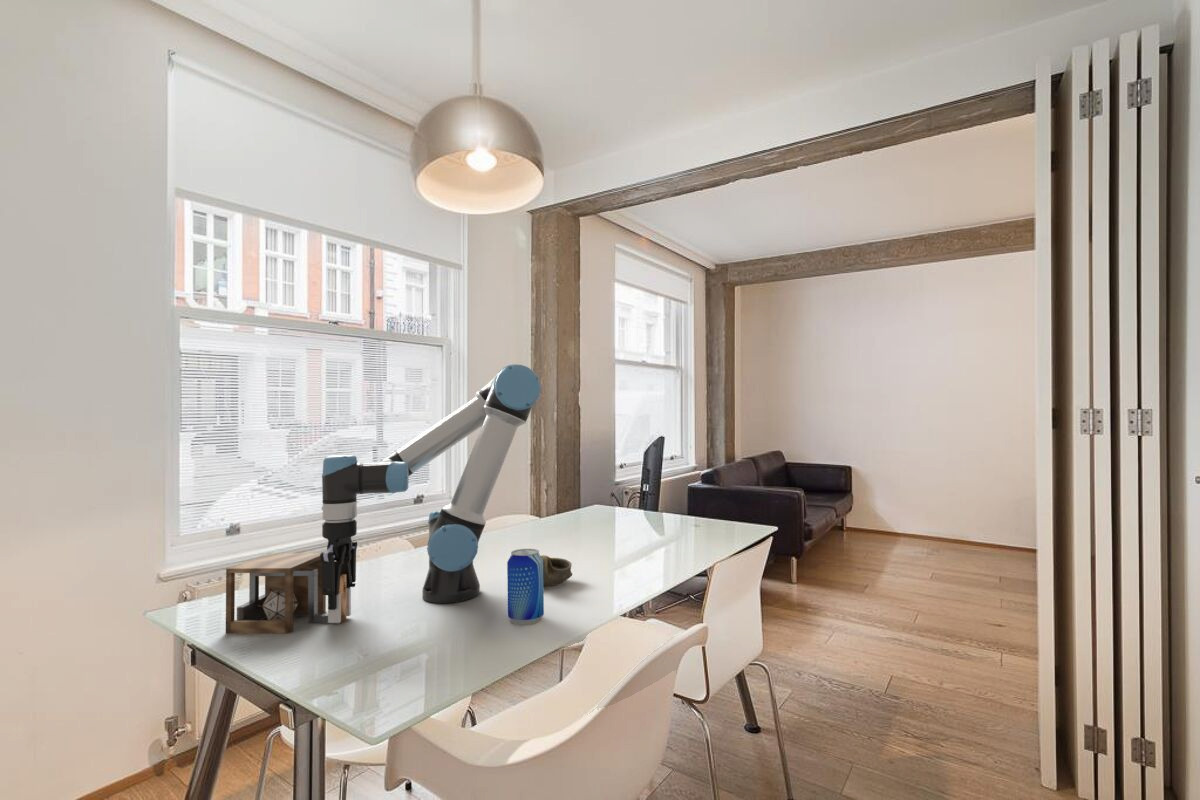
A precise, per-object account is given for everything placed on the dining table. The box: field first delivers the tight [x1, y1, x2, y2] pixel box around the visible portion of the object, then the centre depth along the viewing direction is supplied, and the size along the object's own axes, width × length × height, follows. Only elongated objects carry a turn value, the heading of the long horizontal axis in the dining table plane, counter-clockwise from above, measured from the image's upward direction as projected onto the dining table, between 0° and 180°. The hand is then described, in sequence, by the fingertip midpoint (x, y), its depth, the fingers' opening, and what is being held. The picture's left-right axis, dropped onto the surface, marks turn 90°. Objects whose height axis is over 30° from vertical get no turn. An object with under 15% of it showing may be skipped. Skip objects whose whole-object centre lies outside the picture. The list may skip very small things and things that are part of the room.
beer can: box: [506, 548, 545, 626], centre depth 137 cm, size 8×8×16 cm
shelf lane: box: [225, 552, 327, 634], centre depth 139 cm, size 15×15×14 cm
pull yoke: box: [236, 569, 347, 625], centre depth 139 cm, size 23×10×12 cm, turn 87°
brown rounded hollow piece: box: [540, 554, 573, 587], centre depth 166 cm, size 14×18×10 cm
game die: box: [259, 586, 301, 620], centre depth 139 cm, size 9×8×10 cm
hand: (339, 618), depth 138 cm, fingers open, 4 cm apart
